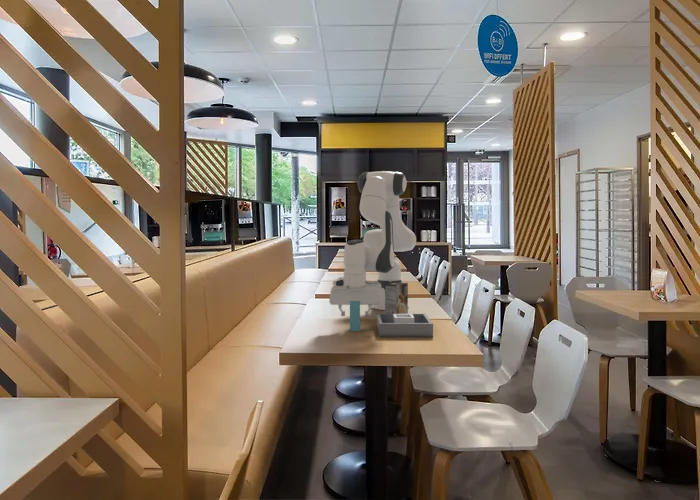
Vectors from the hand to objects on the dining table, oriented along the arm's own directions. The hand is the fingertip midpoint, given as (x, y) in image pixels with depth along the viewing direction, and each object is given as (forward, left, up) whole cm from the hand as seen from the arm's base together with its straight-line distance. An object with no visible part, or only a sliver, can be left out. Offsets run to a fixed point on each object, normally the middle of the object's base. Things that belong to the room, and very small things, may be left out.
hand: (355, 315), depth 194 cm
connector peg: (0, 0, -6) cm, 6 cm away
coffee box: (-19, +18, -6) cm, 27 cm away
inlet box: (+2, +19, -6) cm, 20 cm away
